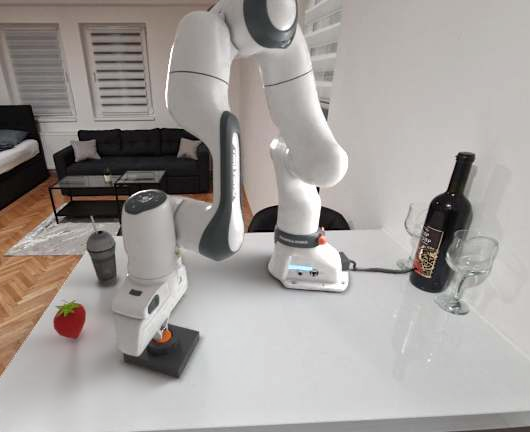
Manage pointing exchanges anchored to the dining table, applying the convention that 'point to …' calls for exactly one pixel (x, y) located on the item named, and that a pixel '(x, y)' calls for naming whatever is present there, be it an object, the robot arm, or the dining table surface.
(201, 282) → the dining table surface
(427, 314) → the dining table surface
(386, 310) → the dining table surface
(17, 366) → the dining table surface
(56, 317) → the strawberry
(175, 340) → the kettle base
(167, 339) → the orange button cap
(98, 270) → the beverage cup
